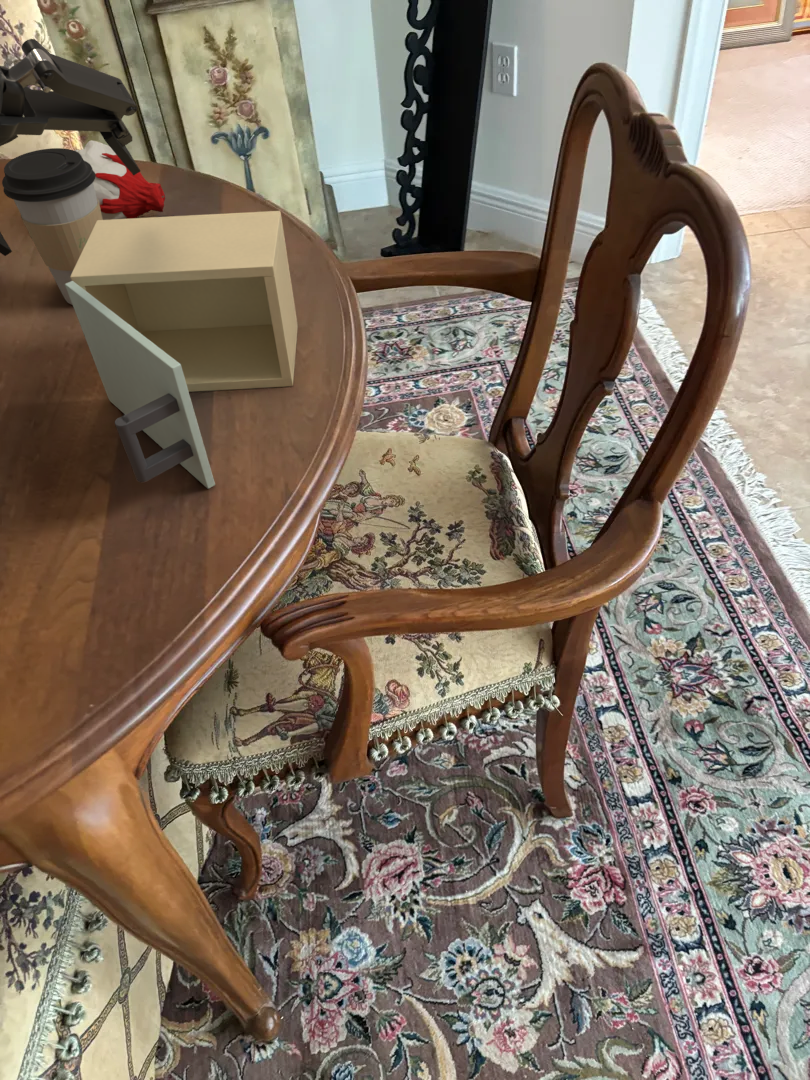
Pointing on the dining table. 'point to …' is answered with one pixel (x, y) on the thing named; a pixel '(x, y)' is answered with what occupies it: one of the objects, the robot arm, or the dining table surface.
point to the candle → (120, 185)
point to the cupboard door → (142, 392)
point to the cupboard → (201, 293)
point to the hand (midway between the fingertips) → (65, 200)
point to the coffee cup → (55, 205)
